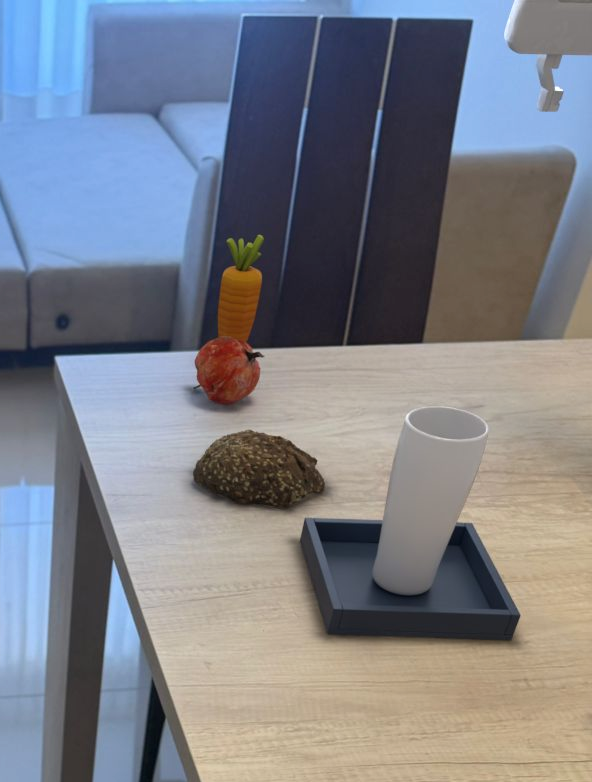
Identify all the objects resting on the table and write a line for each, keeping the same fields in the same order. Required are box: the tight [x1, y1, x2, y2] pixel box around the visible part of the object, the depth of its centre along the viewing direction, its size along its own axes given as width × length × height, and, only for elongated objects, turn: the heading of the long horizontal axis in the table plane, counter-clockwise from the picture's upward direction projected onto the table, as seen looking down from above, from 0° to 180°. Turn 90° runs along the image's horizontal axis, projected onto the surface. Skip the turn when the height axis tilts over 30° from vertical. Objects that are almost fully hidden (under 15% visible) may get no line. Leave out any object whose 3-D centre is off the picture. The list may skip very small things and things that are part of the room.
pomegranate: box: [193, 336, 265, 406], centre depth 132 cm, size 7×7×10 cm
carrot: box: [217, 234, 265, 343], centre depth 136 cm, size 5×5×15 cm
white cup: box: [372, 405, 490, 596], centre depth 99 cm, size 7×7×15 cm
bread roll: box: [192, 429, 326, 509], centre depth 117 cm, size 13×12×5 cm
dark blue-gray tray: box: [299, 517, 521, 642], centre depth 103 cm, size 16×16×3 cm
